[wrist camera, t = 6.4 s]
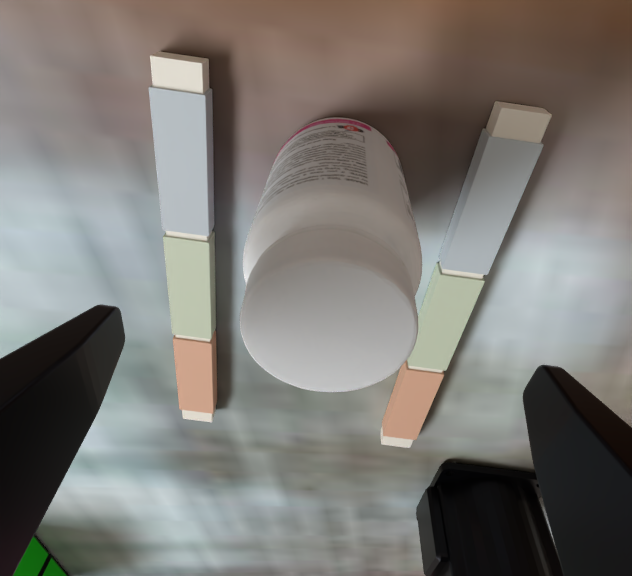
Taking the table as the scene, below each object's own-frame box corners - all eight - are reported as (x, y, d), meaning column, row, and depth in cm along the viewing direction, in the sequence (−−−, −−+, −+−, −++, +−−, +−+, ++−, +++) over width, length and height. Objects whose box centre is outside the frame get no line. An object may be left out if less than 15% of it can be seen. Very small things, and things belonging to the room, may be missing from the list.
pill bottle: (250, 196, 17) (185, 350, 10) (317, 85, 15) (288, 194, 8) (352, 256, 18) (353, 428, 12) (429, 163, 16) (486, 314, 9)
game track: (767, -425, 9) (928, -572, 6) (410, 435, 25) (416, 485, 23) (107, -541, 8) (8, -743, 6) (185, 406, 25) (167, 454, 23)
